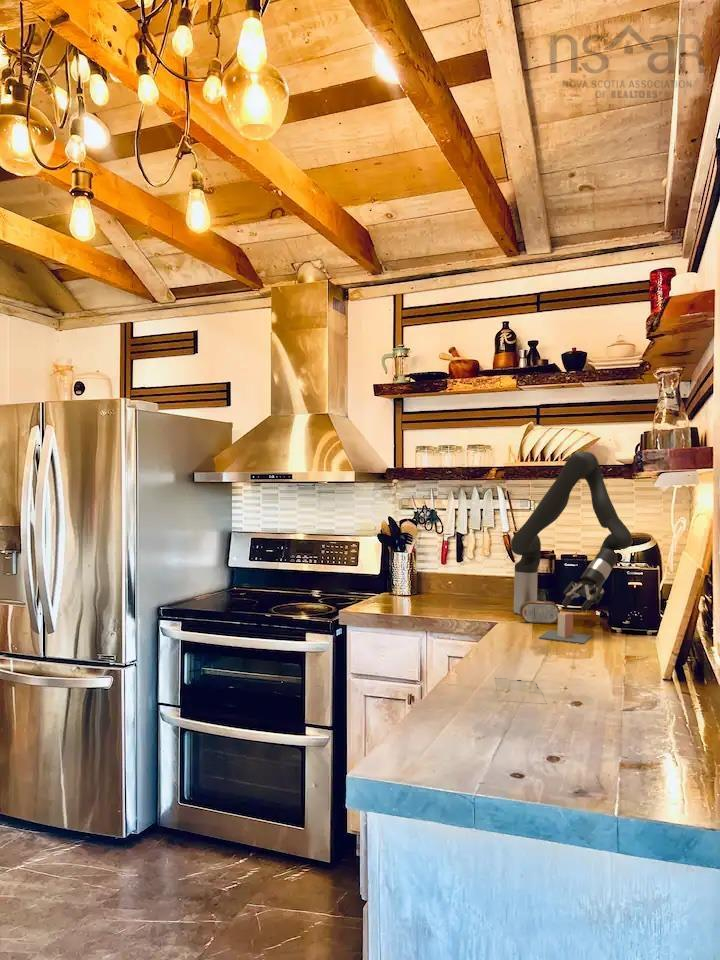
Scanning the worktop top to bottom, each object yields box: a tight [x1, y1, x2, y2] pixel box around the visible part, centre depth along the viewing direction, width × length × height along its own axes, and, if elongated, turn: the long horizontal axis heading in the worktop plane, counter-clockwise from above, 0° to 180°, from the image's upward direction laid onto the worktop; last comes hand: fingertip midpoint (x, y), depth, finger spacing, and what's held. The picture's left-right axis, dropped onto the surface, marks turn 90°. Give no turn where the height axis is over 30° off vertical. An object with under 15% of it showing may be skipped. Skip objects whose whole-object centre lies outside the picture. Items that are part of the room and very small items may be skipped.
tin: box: [519, 600, 561, 625], centre depth 263 cm, size 15×3×8 cm, turn 84°
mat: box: [538, 629, 593, 645], centre depth 239 cm, size 14×15×1 cm
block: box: [557, 611, 574, 638], centre depth 239 cm, size 3×4×8 cm
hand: (573, 608), depth 241 cm, fingers open, 8 cm apart
